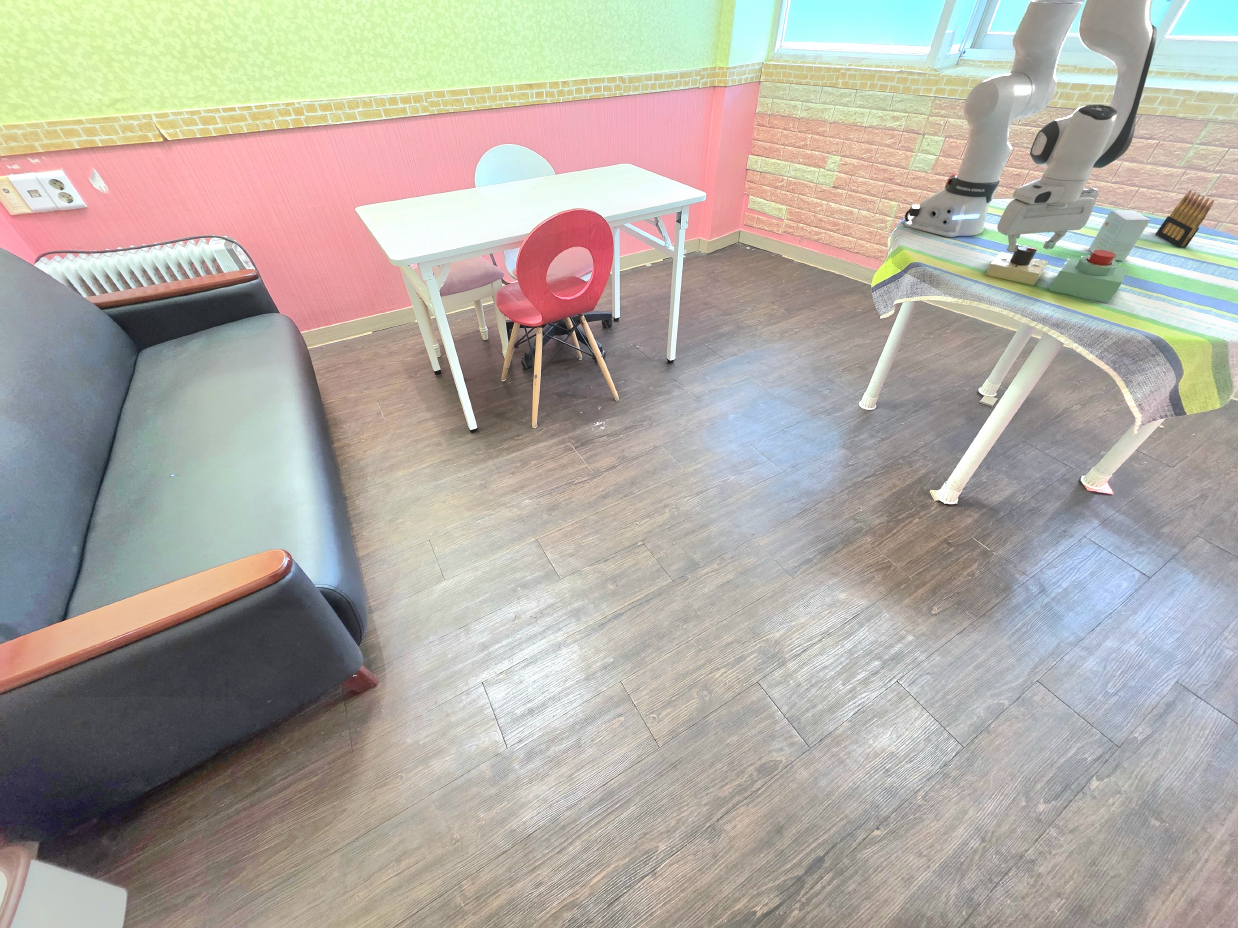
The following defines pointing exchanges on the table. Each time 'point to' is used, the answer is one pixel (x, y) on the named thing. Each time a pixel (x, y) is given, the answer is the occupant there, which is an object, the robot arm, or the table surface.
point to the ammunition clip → (1184, 220)
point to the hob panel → (1016, 269)
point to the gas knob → (1023, 255)
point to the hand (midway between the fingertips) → (1029, 250)
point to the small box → (1120, 233)
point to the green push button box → (1089, 279)
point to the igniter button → (1101, 257)
